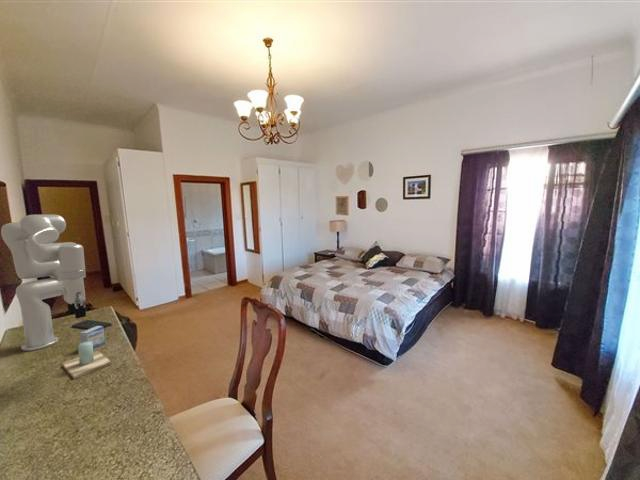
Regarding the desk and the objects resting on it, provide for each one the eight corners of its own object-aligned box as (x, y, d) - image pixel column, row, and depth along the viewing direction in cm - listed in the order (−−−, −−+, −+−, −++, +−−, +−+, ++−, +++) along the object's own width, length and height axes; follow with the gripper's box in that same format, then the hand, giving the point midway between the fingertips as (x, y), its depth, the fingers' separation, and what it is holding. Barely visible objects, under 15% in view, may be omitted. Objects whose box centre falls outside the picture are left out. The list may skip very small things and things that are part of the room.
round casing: (78, 362, 112) (76, 344, 112) (92, 358, 116) (91, 340, 115) (80, 366, 110) (79, 347, 109) (95, 361, 113) (94, 343, 113)
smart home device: (87, 319, 158) (112, 323, 153) (87, 322, 158) (112, 325, 153) (70, 325, 150) (96, 329, 145) (71, 327, 151) (97, 332, 145)
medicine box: (88, 351, 124) (86, 333, 123) (80, 350, 125) (79, 332, 124) (105, 342, 132) (103, 326, 131) (97, 342, 133) (96, 325, 132)
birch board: (62, 365, 112) (62, 363, 112) (98, 353, 122) (97, 350, 122) (74, 378, 103) (73, 376, 103) (111, 364, 113) (111, 361, 113)
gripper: (55, 273, 111) (58, 312, 113) (67, 279, 101) (71, 322, 103) (78, 269, 117) (81, 307, 119) (92, 276, 108) (95, 316, 110)
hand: (77, 314), depth 111 cm, fingers open, 9 cm apart
